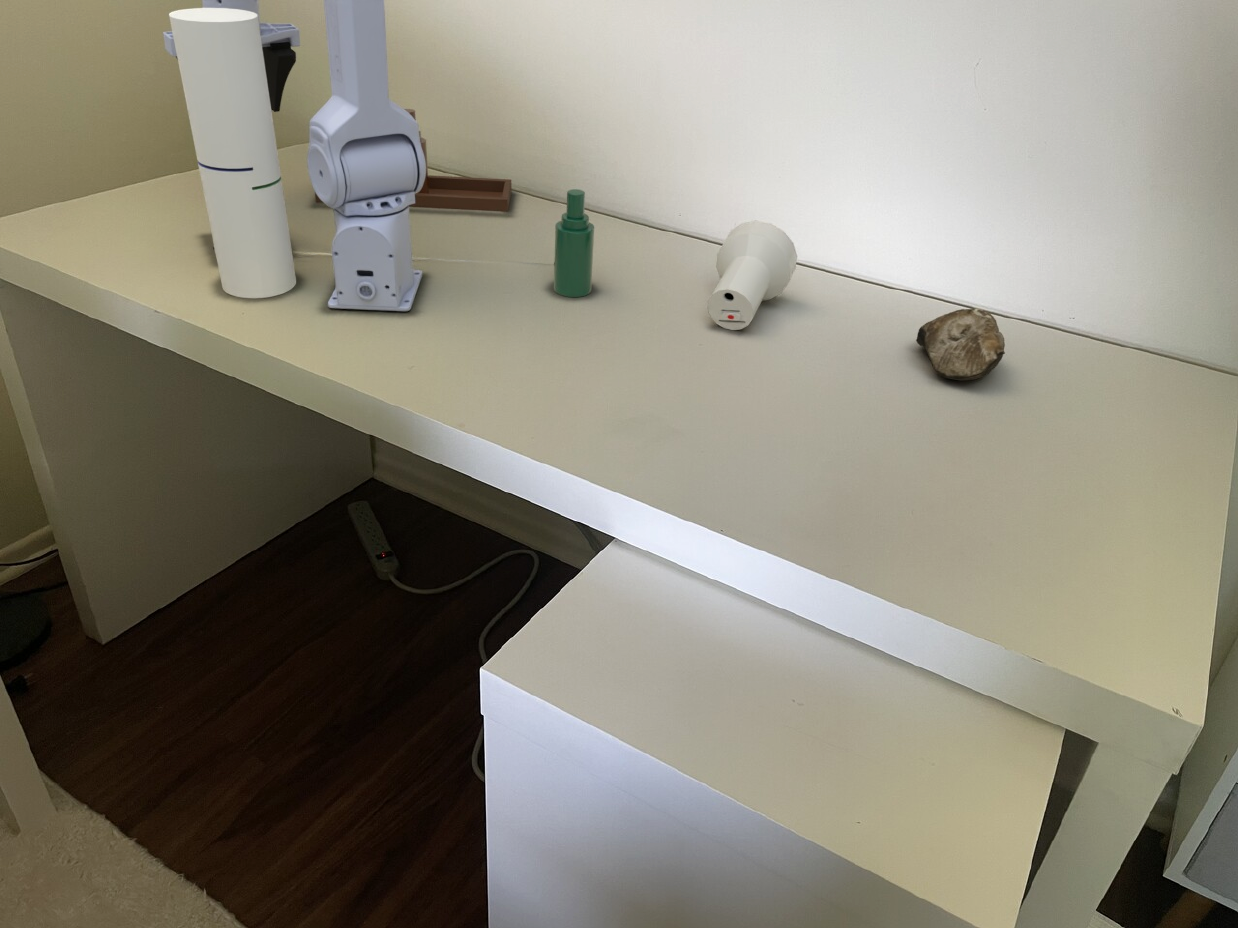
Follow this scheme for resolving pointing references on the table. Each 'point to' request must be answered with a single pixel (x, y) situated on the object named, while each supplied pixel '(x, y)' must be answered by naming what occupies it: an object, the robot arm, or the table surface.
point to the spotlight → (750, 272)
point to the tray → (463, 194)
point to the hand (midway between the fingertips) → (242, 112)
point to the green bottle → (574, 248)
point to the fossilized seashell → (963, 344)
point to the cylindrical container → (235, 148)
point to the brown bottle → (423, 144)
